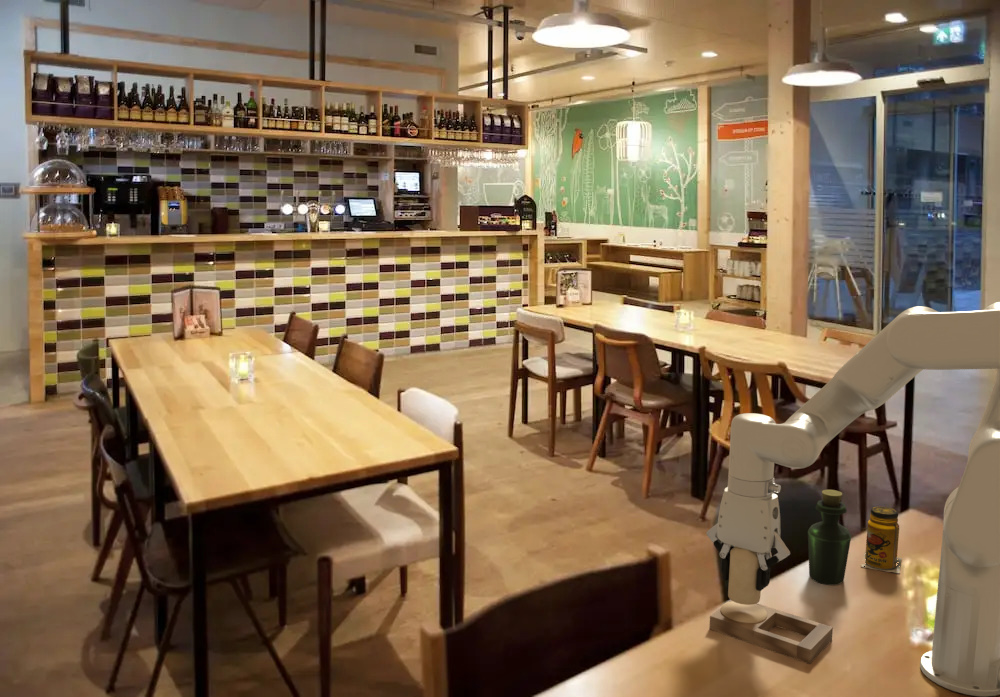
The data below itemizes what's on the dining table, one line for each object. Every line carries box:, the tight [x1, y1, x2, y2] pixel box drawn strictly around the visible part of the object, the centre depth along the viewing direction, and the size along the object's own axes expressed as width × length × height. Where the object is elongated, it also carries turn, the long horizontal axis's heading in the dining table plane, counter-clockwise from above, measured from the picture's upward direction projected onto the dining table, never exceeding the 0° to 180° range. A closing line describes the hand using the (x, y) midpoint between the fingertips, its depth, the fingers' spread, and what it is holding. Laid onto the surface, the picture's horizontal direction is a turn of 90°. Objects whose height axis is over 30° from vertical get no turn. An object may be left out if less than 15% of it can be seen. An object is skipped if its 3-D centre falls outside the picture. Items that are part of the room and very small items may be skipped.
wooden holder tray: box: [709, 599, 834, 665], centre depth 151 cm, size 18×10×3 cm, turn 49°
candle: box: [727, 547, 762, 605], centre depth 152 cm, size 6×6×10 cm
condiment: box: [860, 506, 903, 574], centre depth 180 cm, size 7×8×12 cm
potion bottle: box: [807, 489, 852, 586], centre depth 172 cm, size 8×8×18 cm
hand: (744, 582), depth 153 cm, fingers closed on candle, 5 cm apart
